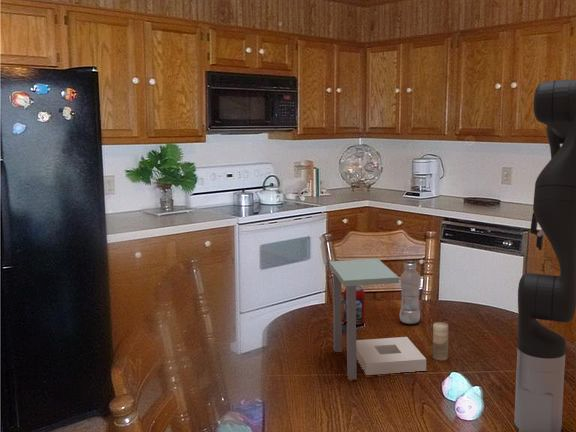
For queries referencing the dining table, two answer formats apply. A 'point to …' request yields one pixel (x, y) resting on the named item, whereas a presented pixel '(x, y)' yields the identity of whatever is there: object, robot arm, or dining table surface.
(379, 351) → the socket
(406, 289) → the plastic bottle
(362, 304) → the beverage can
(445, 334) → the peg
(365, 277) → the two-legged shelf table
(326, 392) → the dining table surface
